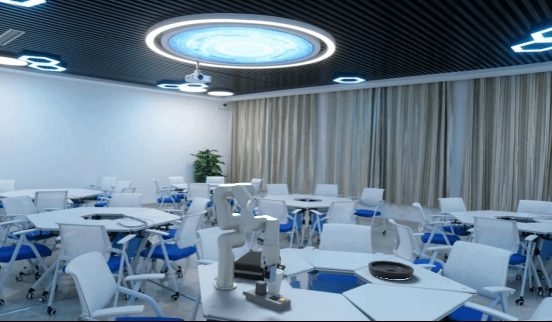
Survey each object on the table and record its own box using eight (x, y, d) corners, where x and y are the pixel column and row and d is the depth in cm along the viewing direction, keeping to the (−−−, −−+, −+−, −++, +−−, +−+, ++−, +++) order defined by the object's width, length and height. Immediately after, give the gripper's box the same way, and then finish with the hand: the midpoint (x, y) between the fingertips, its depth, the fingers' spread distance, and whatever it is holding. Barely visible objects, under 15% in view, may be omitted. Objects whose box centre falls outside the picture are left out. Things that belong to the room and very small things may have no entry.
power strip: (237, 295, 215) (238, 278, 215) (249, 291, 222) (249, 274, 222) (279, 311, 196) (280, 292, 195) (290, 306, 202) (291, 288, 202)
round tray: (420, 283, 251) (405, 269, 281) (420, 273, 251) (405, 261, 281) (373, 280, 252) (363, 267, 282) (373, 271, 252) (364, 259, 282)
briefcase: (276, 284, 236) (277, 268, 236) (228, 278, 245) (229, 262, 245) (290, 268, 271) (290, 254, 271) (247, 263, 280) (248, 249, 280)
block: (264, 280, 201) (264, 265, 201) (269, 278, 204) (270, 263, 204) (270, 282, 198) (271, 267, 198) (275, 281, 201) (276, 265, 201)
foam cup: (271, 298, 213) (272, 274, 213) (262, 292, 221) (263, 269, 220) (285, 294, 219) (286, 271, 219) (275, 289, 226) (276, 267, 226)
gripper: (277, 238, 209) (275, 272, 209) (254, 243, 197) (253, 279, 197) (287, 241, 204) (286, 276, 204) (265, 246, 192) (264, 283, 192)
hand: (270, 277), depth 201 cm, fingers closed on block, 4 cm apart
